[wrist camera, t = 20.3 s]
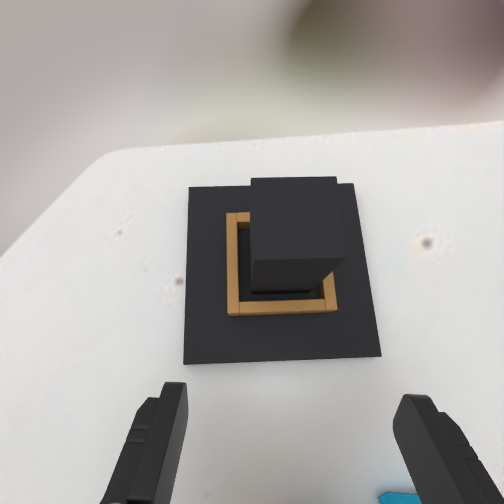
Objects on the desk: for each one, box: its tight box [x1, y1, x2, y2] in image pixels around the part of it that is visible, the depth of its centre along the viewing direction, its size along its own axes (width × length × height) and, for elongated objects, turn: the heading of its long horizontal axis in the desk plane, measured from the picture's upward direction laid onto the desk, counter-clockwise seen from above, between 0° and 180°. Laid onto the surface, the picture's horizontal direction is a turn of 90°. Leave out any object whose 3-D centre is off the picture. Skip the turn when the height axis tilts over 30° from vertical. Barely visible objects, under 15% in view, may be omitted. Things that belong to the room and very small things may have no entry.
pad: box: [183, 183, 382, 365], centre depth 23 cm, size 14×14×2 cm
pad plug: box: [249, 176, 347, 295], centre depth 19 cm, size 4×4×9 cm
